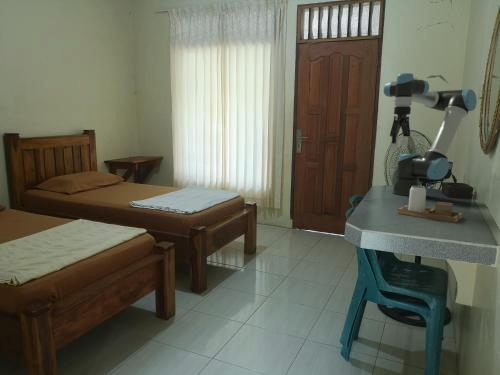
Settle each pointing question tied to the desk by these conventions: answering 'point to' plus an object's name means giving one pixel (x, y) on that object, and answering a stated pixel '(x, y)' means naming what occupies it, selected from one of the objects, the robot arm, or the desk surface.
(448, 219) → the caddy
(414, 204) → the can
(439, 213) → the walnut block
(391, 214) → the desk surface
